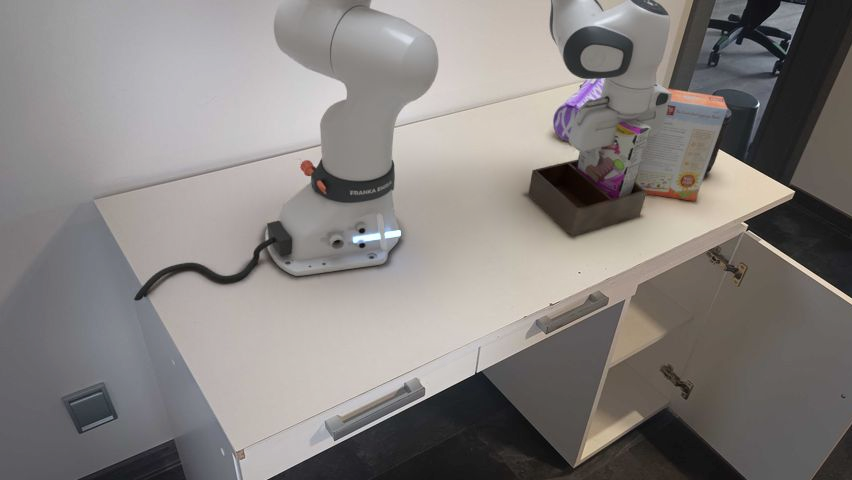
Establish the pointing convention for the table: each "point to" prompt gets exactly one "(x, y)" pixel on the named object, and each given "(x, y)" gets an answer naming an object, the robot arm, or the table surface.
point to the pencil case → (575, 106)
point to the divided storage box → (580, 199)
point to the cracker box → (682, 146)
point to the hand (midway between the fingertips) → (609, 161)
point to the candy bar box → (618, 159)
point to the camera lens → (719, 141)
